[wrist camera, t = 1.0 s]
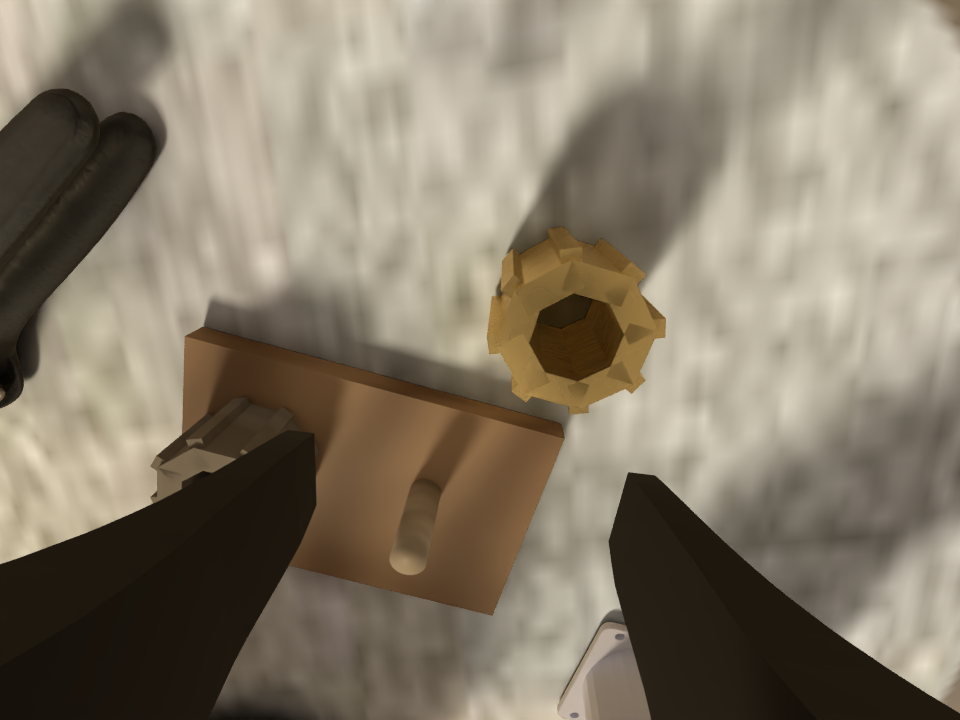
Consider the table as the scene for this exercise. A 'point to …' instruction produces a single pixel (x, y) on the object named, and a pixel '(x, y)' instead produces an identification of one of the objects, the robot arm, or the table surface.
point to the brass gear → (584, 344)
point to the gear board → (372, 466)
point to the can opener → (58, 202)
